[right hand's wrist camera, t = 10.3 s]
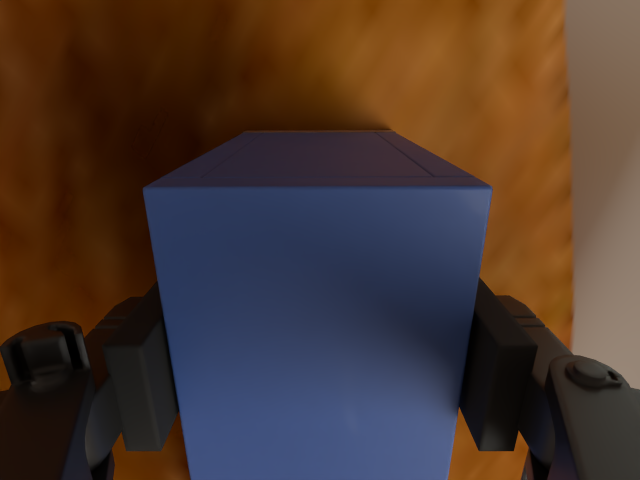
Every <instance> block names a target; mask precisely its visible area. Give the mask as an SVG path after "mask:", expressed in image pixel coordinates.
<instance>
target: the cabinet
mask: <svg viewBox="0 0 640 480" xmlns="http://www.w3.org/2000/svg"><path fill="white" fill-rule="evenodd" d="M143 195H144V202H145V208H146V214H147V220H148V226H149V232H150V238H151V244H152V250H153V256H154V262H155V268H156V274H157V280H158V286H159V292H160V298H161V304H162V310H163V316H164V322H165V328H166V334H167V340H168V346H169V352H170V358H171V364H172V370H173V376H174V382H175V388H176V394H177V400H178V407H179V413H180V419H181V425H182V431H183V437H184V443H185V449H186V455H187V461H188V467H189V473H190V479H191V480H448V474H449V467H450V461H451V454H452V448H453V441H454V435H455V429H456V422H457V416H458V409H459V403H460V396H461V390H462V383H463V377H464V370H465V364H466V358H467V351H468V345H469V338H470V332H471V325H472V319H473V312H474V306H475V299H476V293H477V287H478V280H479V274H480V267H481V261H482V254H483V248H484V241H485V235H486V229H487V222H488V216H489V209H490V203H491V196H492V186H490V185H488V184H487V183H485V182H483V181H481V180H479V179H478V178H475V177H474V176H473V175H471V174H469V173H467V172H465V171H463V170H462V169H460V168H458V167H456V166H454V165H453V164H451V163H449V162H447V161H445V160H444V159H442V158H440V157H438V156H436V155H435V154H433V153H431V152H429V151H427V150H426V149H424V148H422V147H420V146H418V145H416V144H415V143H413V142H411V141H409V140H407V139H406V138H404V137H402V136H400V135H398V134H397V133H396V132H395V131H393V130H246V131H244V132H242V134H240V135H238V136H237V137H235V138H233V139H231V140H229V141H227V142H225V143H224V144H222V145H220V146H218V147H216V148H214V149H213V150H211V151H209V152H207V153H205V154H203V155H201V156H200V157H198V158H196V159H194V160H192V161H190V162H189V163H187V164H185V165H183V166H181V167H179V168H178V169H176V170H174V171H172V172H170V173H168V174H166V175H165V176H163V177H161V178H160V179H158V180H156V181H154V182H152V183H151V184H149V185H147V186H145V187H144V188H143Z"/></svg>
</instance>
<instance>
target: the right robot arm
mask: <svg viewBox="0 0 640 480" xmlns="http://www.w3.org/2000/svg"><path fill="white" fill-rule="evenodd" d="M0 352H1V355H2V358H3V361H4V364H5V367H6V369H7V372H8V375H9V378H10V381H11V384H12V385H11V387H10V388H9V390H5V391H0V480H113V475H114V467H115V464H114V457H113V453H112V449H111V448H112V447H113V445H114V443H115V442H116V440H117V438H118V437H119V435H120V433H121V431H122V435H123V439H124V444H125V448H126V451H161V450H162V448H163V446H164V443H165V441H166V439H167V436H168V434H169V432H170V430H171V427H172V425H173V423H174V421H175V418H176V416H177V414H178V412H179V407H178V400H177V394H176V388H175V382H174V376H173V370H172V364H171V358H170V352H169V346H168V340H167V334H166V328H165V322H164V316H163V310H162V304H161V298H160V292H159V286H158V281H157V282H156V283H155V284H154V285H153V287H152V288H151V289H150V290H149V291H148V292H147V294H146V295H145V296H144V297H130V298H128V299H126V300H125V301H123V302H121V303H120V304H118V305H116V306H114V308H113V309H112V310H111V311H110V312H109V313H108V314H107V315H106V316H105V317H104V319H102V320H101V321H100V322H99V323H98V324H97V325H96V326H95V329H93V330H92V331H91V332H90V333H89V334H88V335H87V336H86V337H85V338H84V337H83V333H82V329H81V326H79V325H78V324H76V323H74V322H68V321H58V322H49V323H45V324H41V325H36V326H33V327H31V328H28V329H26V330H23V331H21V332H19V333H17V334H15V335H14V336H12V337H10V338H9V339H7V340H6V341H5V342H4V343H3V344H2V345H1V346H0ZM459 407H460V409H461V412H462V414H463V416H464V418H465V421H466V423H467V425H468V427H469V430H470V432H471V434H472V437H473V439H474V441H475V443H476V446H477V448H478V450H479V451H514V448H515V443H516V439H517V435H518V431H520V433H521V434H522V436H523V438H524V440H525V441H526V443H527V445H528V446H529V449H528V453H527V457H526V461H525V465H524V469H523V473H522V477H521V480H640V390H639V389H634V388H630V386H629V384H628V383H627V381H626V380H625V379H624V378H623V377H622V375H621V374H619V373H618V372H616V371H615V370H613V369H612V368H611V367H609V366H607V365H605V364H603V363H601V362H598V361H596V360H594V359H590V358H587V357H583V356H578V355H573V354H572V353H571V352H570V351H569V350H568V348H567V347H566V346H565V345H564V344H563V343H562V342H561V341H560V340H559V339H558V338H557V337H556V336H555V335H554V334H553V333H552V332H551V331H550V330H549V329H548V328H547V327H545V325H544V324H543V323H542V321H541V320H540V319H539V318H536V315H535V314H534V313H533V312H532V311H531V310H530V309H529V308H528V307H527V306H526V305H525V304H523V303H521V302H520V301H518V300H516V299H514V298H513V297H511V296H495V295H494V294H493V292H492V291H491V290H490V289H489V288H488V287H487V285H486V284H485V283H484V282H483V281H482V280H481V278H480V277H479V280H478V287H477V293H476V299H475V306H474V312H473V319H472V325H471V332H470V338H469V345H468V351H467V358H466V364H465V370H464V377H463V383H462V390H461V396H460V403H459Z"/></svg>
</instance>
